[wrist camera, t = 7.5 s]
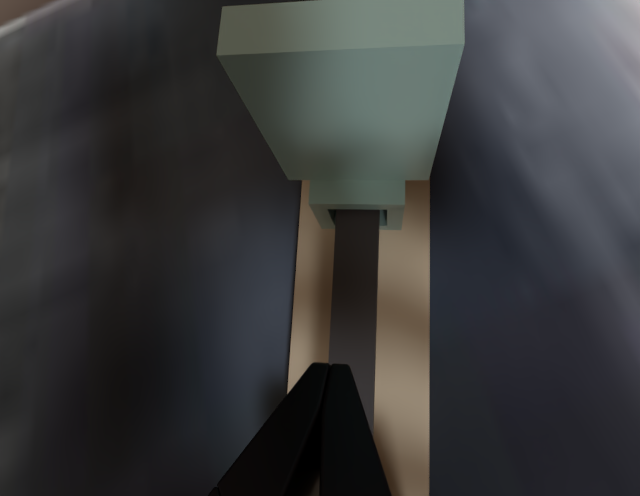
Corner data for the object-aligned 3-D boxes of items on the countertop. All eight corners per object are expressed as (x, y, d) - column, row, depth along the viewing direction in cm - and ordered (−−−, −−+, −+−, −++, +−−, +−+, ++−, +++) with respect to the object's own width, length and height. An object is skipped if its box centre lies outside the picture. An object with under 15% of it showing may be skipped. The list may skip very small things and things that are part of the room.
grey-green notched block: (420, 230, 18) (465, 85, 8) (303, 228, 19) (211, 94, 9) (421, 163, 19) (463, -47, 9) (308, 164, 19) (226, -29, 9)
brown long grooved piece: (426, 576, 17) (448, 699, 11) (280, 556, 18) (229, 659, 12) (428, 122, 22) (444, 36, 16) (310, 124, 22) (283, 44, 16)
